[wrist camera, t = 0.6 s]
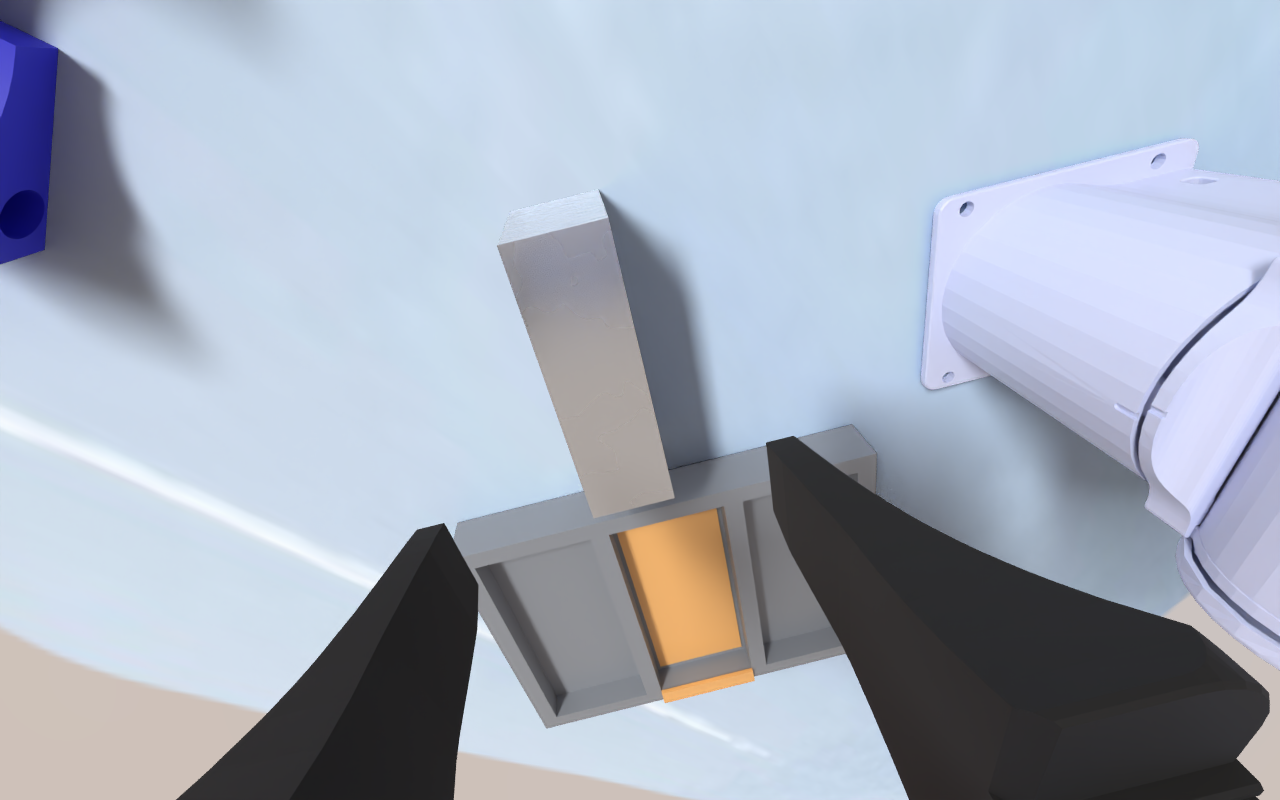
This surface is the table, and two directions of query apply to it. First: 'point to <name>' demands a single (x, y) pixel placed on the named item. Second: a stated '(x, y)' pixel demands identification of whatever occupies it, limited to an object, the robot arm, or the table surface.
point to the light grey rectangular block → (587, 348)
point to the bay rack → (653, 587)
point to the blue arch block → (25, 140)
